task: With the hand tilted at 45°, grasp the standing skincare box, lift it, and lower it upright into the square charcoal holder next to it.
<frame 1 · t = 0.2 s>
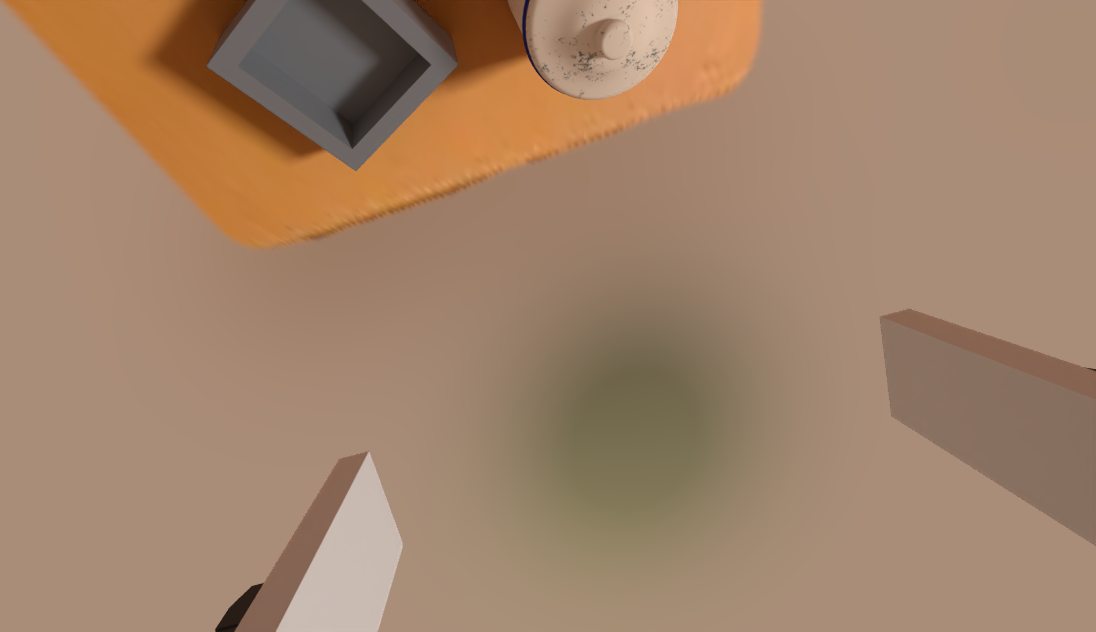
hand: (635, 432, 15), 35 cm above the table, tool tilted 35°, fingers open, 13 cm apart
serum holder: (340, 37, 39), on the table
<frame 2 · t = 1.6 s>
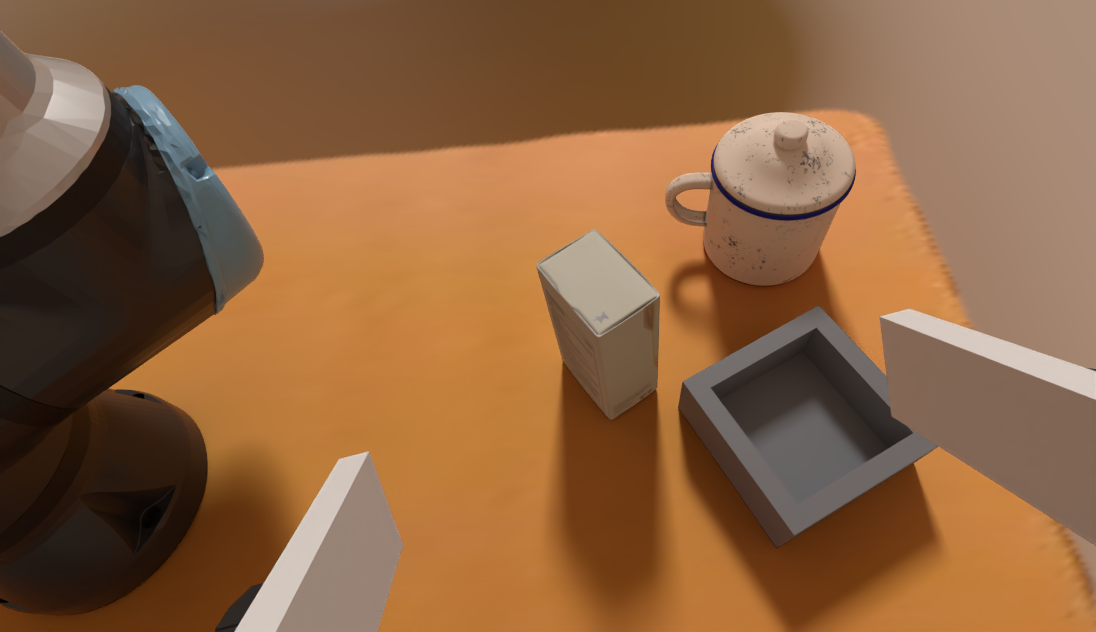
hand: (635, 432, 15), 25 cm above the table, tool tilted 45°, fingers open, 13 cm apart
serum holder: (790, 433, 39), on the table
teacup with lid: (739, 243, 47), on the table
skincare box: (607, 373, 43), on the table
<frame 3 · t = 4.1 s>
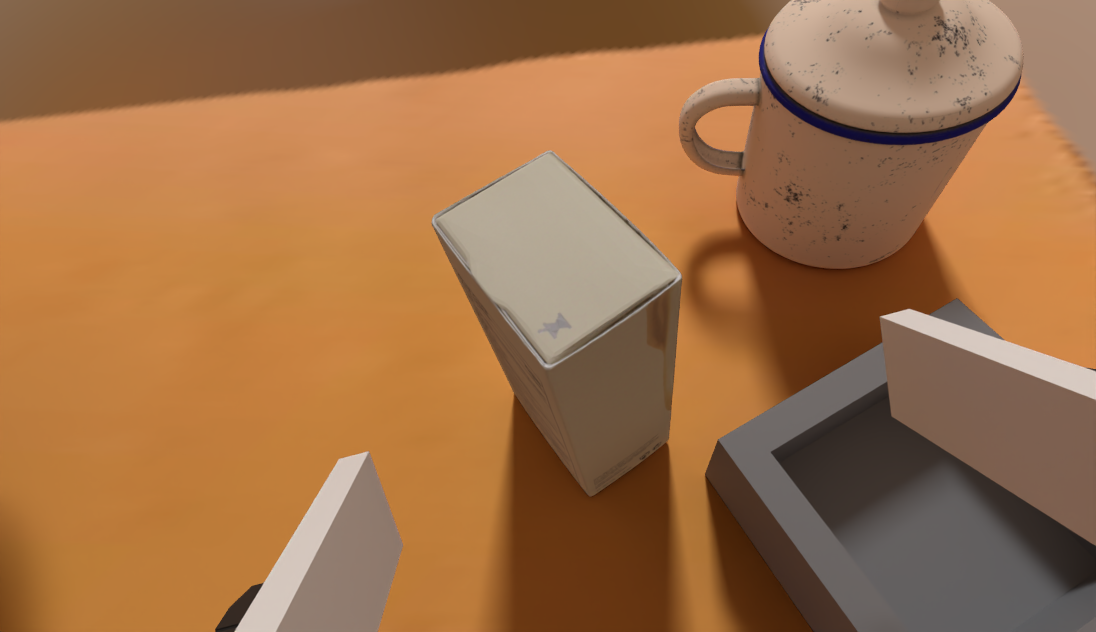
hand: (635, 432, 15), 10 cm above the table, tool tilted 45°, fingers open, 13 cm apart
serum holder: (904, 525, 22), on the table
teacup with lid: (792, 204, 30), on the table
skincare box: (586, 413, 26), on the table
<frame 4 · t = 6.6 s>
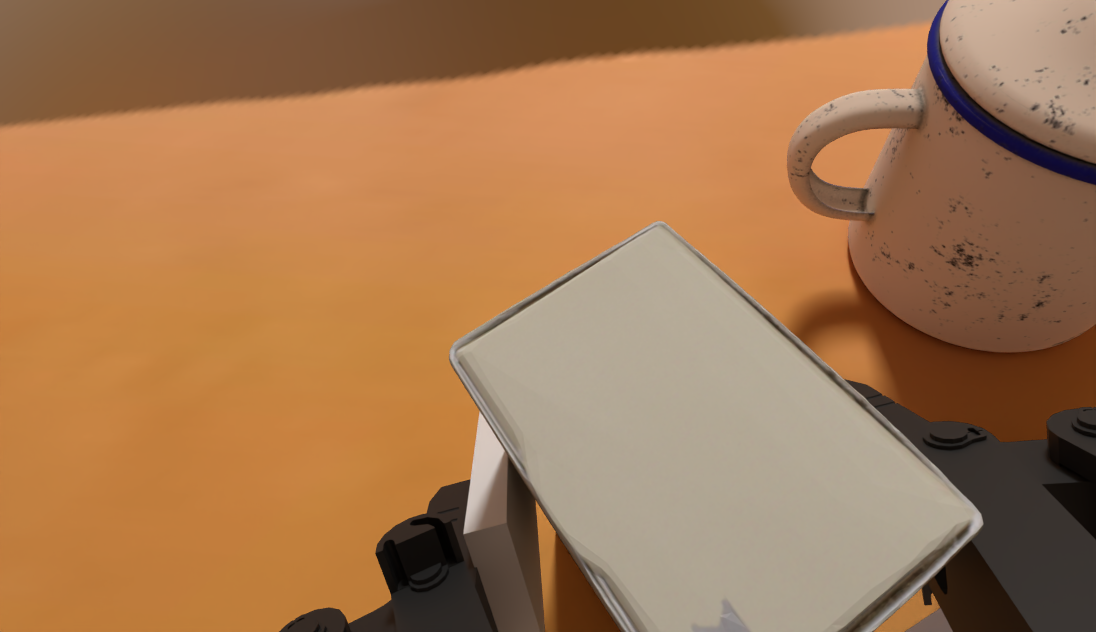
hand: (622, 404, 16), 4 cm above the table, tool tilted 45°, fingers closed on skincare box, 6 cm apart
teacup with lid: (923, 256, 22), on the table
skincare box: (659, 562, 18), on the table, touching gripper
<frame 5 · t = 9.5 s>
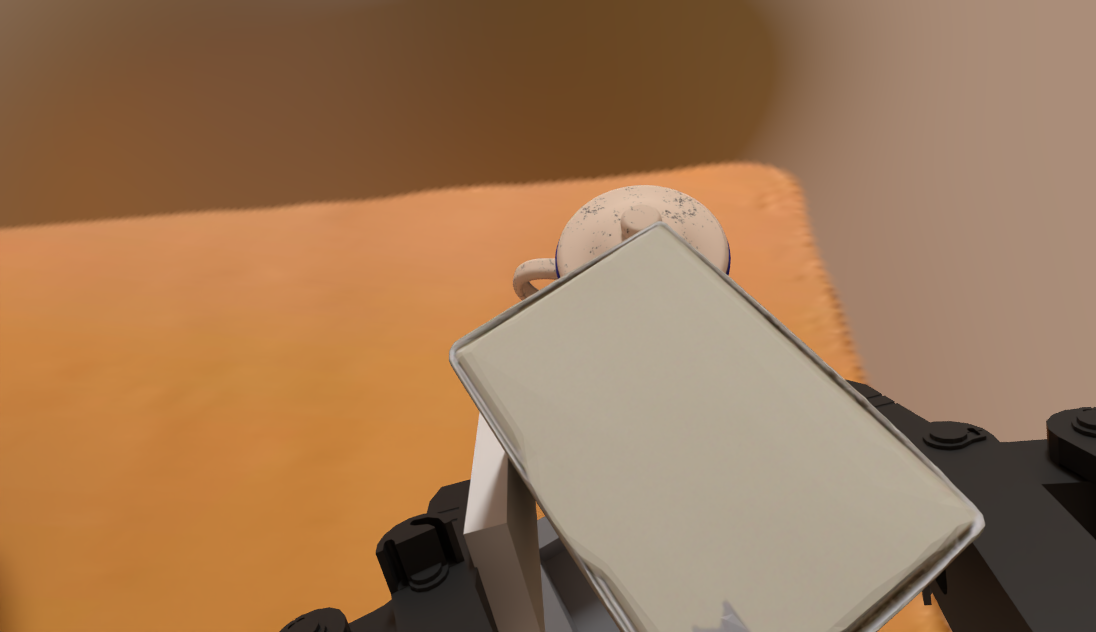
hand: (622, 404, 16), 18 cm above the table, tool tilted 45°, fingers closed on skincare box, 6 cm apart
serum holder: (650, 597, 30), on the table
teacup with lid: (617, 331, 39), on the table
skincare box: (659, 562, 18), point 14 cm above the table, touching gripper
when the fingers open (7 cm above the table, at t = 12.4 s): skincare box drops 2 cm, resting on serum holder.
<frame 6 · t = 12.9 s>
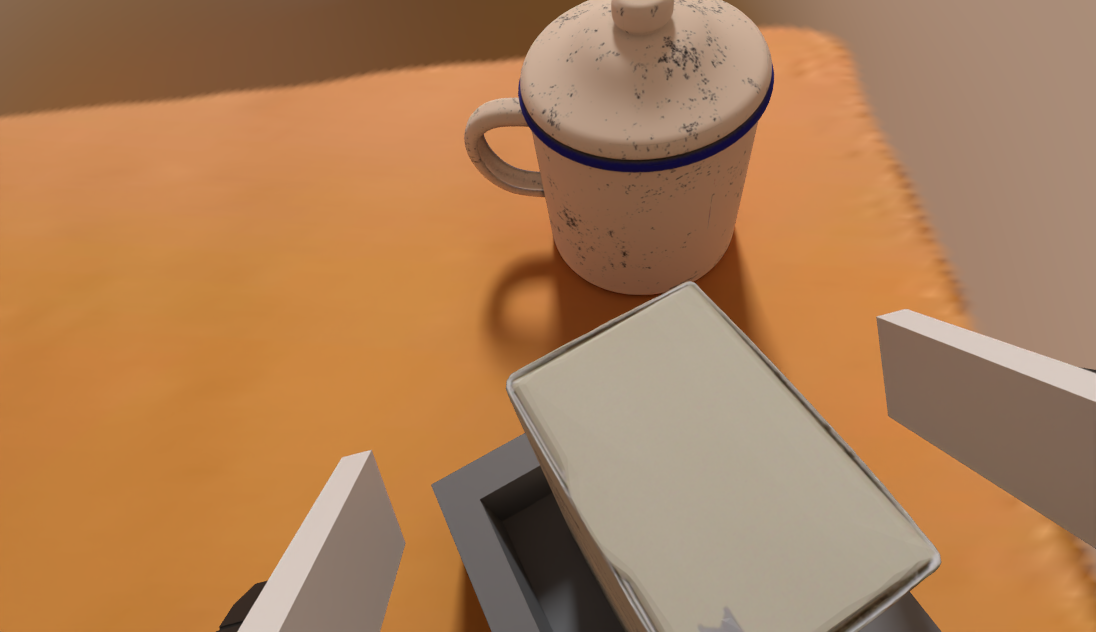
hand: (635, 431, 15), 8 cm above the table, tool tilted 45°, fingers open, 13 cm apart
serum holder: (656, 572, 21), on the table
teacup with lid: (611, 225, 29), on the table
skincare box: (664, 571, 20), point 1 cm above the table, touching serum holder
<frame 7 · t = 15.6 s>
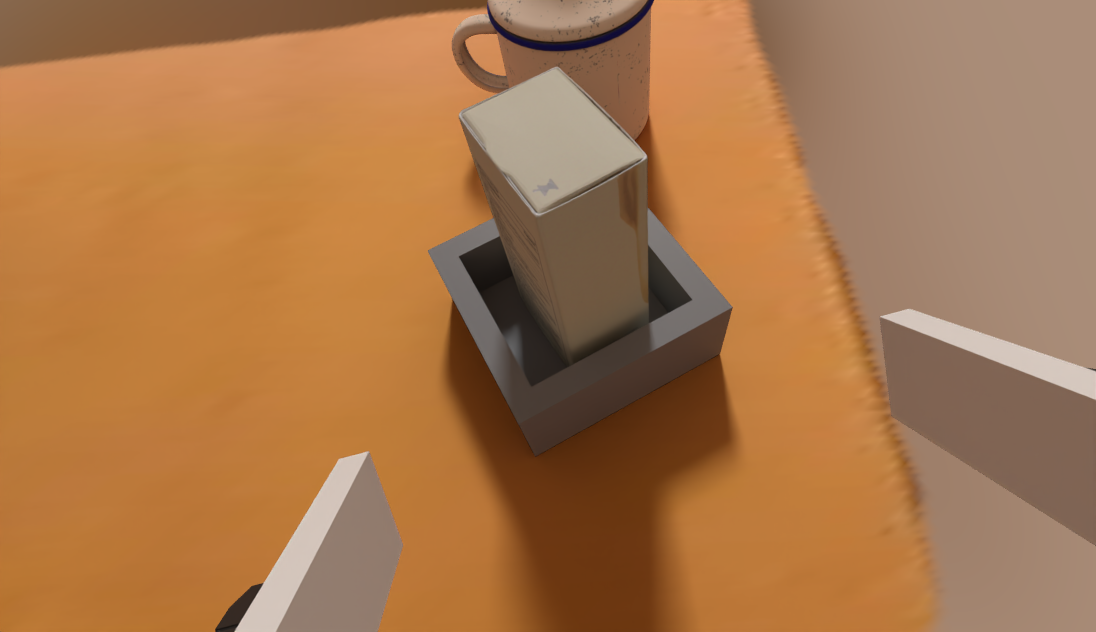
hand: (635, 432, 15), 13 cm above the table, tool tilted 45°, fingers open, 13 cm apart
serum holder: (577, 324, 31), on the table
teacup with lid: (561, 120, 39), on the table
skincare box: (581, 317, 30), point 1 cm above the table, touching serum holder
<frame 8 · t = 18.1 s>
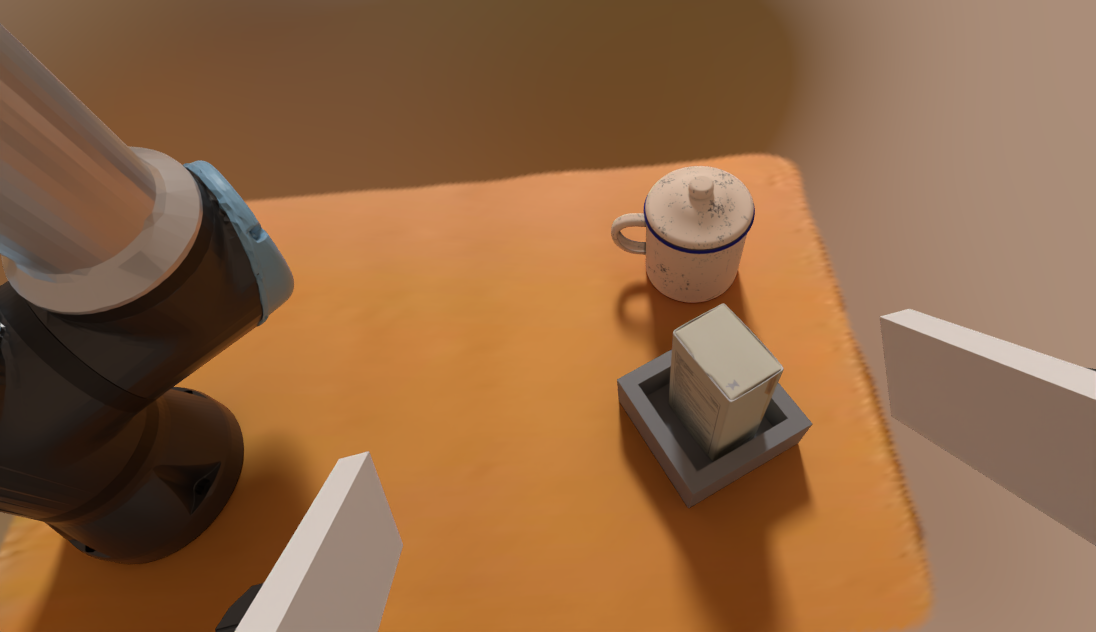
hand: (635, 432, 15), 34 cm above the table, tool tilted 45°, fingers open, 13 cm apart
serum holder: (704, 420, 49), on the table
teacup with lid: (675, 267, 57), on the table
skincare box: (709, 418, 48), point 1 cm above the table, touching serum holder
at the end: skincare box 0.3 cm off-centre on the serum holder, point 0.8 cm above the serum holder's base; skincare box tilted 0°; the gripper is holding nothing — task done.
